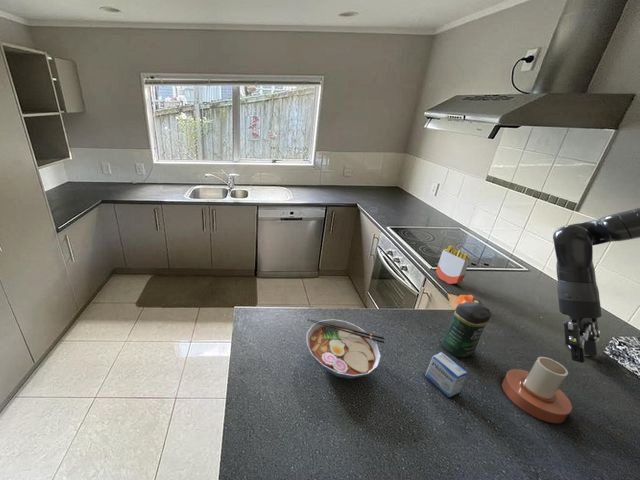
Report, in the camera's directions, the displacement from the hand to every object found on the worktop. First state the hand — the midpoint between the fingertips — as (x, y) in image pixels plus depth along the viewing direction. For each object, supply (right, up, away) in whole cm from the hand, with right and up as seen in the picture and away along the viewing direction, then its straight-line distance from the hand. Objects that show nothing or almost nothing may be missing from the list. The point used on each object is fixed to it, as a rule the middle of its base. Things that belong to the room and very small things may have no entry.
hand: (584, 358), depth 75 cm
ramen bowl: (-62, -9, +16) cm, 65 cm away
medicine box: (-32, -13, +10) cm, 36 cm away
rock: (+2, +1, +46) cm, 46 cm away
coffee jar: (-18, -8, +23) cm, 30 cm away
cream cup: (-8, -11, +5) cm, 14 cm away
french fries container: (+7, +8, +64) cm, 65 cm away
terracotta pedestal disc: (-8, -15, +7) cm, 18 cm away
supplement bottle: (+27, -9, +25) cm, 38 cm away
